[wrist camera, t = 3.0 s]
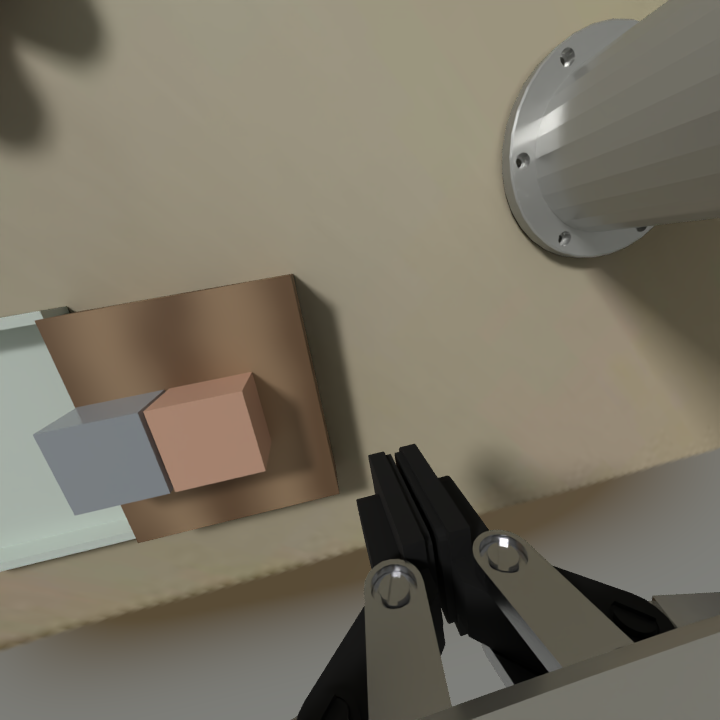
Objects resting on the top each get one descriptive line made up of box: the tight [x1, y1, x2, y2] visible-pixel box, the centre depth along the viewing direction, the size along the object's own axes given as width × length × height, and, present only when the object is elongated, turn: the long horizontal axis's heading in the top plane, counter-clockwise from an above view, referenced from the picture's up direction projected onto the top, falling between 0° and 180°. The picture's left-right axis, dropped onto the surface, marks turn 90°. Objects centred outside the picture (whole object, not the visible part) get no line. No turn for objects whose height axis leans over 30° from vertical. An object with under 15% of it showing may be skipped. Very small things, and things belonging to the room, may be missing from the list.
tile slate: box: [33, 390, 173, 516], centre depth 17 cm, size 4×4×3 cm
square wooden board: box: [35, 274, 339, 543], centre depth 20 cm, size 13×14×3 cm
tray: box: [0, 306, 136, 572], centre depth 20 cm, size 12×15×2 cm
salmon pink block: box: [143, 372, 272, 492], centre depth 18 cm, size 4×4×3 cm
